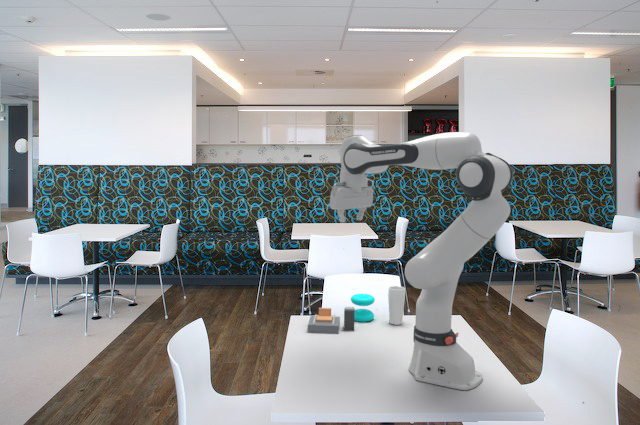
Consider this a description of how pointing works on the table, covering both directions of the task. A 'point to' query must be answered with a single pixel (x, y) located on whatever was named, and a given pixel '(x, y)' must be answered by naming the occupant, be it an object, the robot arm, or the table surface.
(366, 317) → the donuts
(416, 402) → the table surface
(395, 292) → the drinking glass
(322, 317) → the block
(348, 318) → the plug
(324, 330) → the socket plate
